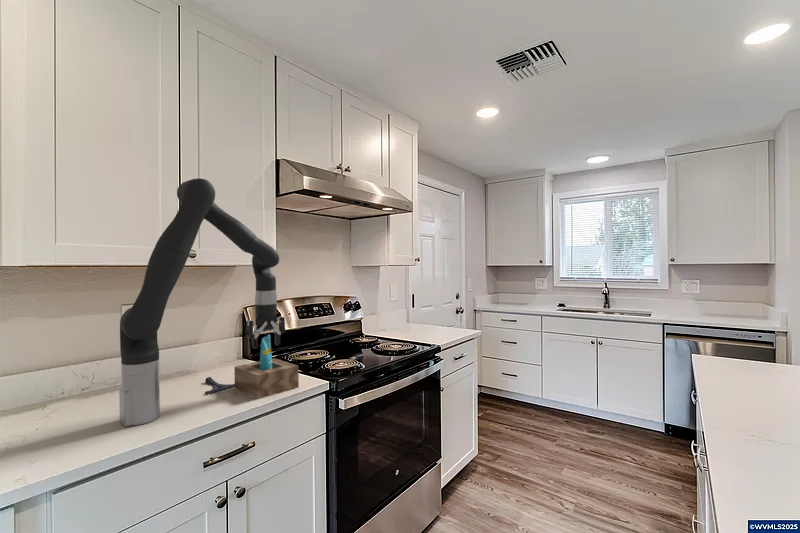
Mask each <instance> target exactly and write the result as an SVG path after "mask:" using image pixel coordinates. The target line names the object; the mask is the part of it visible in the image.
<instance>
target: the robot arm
mask: <svg viewBox="0 0 800 533" xmlns="http://www.w3.org/2000/svg"><path fill="white" fill-rule="evenodd" d="M176 196H177V199H178V201H179V202H180V205H179V208H178V210H177V212H176V214H175V216H174V218H173V219H172V221H171V222H170V223H169V224H168V225H167V227H166V228H165V229H164V231H163V232H162V233H161V234H160V236H159V237H158V239H157V241H156V243H155V245H154V248H153V250H152V252H151V255H150V256H149V259H148V262H147V264H146V270H145V273H144V274H145V275H144V278H143V283H142V287H141V289H140V292H139V294H138V295H137V297H136V299H135V301H134V303H133V304H132V307H129V308H128V309H127V310H125V311H124V312H123V314H122V315H121V316H120V320H119V347H120V348H119V349H120V363H121V364H120V365H121V374H120V376H121V388H119V422H120V423H121V424H122V425H123V426H124V427H130V426H138V425H139V426H140V425H144V424H148V423H151V422H153V421H155V420H158V419H159V418H160V416H161V415H160V414H161V413H160V412H161V407H160V406H161V405H160V401H161V400H160V396H161V395H160V349H159V342H158V330H160V327H161V324H162V321H163V316H164V313H165V310H166V307H167V303H168V301H169V298H170V295H171V293H172V292H173V290H174V288H175V286H176V284H177V282H178V280H179V277H180V276H181V274H182V272H183V270H184V268H185V265H186V263H187V260H188V259H189V256H190V253H191V251H192V248H193V246H194V243H195V241H196V238H197V236H198V233H199V230H200V227H201V224H202V223H203V221H204V220H206V222H208V223H209V224H211V226H213V227H215V228H216V229H217V230H218V231H219V232H221V233H222V234H223V235H224V236H225V237H227V239H229V240H230V241H231V242H232V243H233V244H234V245H235V246H237V247H238V248H239V249H240V250H241V251H243V252H244V253H246V254H250V255H252V257H251V265H252V270H253V274H254V277H255V296H254V297H255V298H254V309H255V310H254V312H255V314H254V316H255V319H253V320H251V319H250V320H249V319H248V320H247V321H246V327H245V328H246V329H245V330H246V331H245V337H247V338H250V339H251V347H252V348H253V349H254V350H257V349H259V348H258V343H259V340H258V337H259V335H260V334H262V332H265V331H272V332H273V333H274V335H273V336H274V342H273V343H274V346H280V343H281V335H282V334H283V333H285V332H286V321H285V320H286V319H285V316H284V317H283V316H278V317H277V314H278V310H277V309H278V299H277V298H278V295H277V279H276V276H275V275H274V274H273V273H272V271H271V268H275V267H276V266H277V265H278V264H279V263H280V255H279V252H278V251H277V250H276V249H275V248H274V247H273V246H271V245H269V243H267V242H265V241H264V240H262V239H260V238H259V237H258V236H257V235H256V234H255V233H254V232H253V231H252V230H251V229H250V228H248V227H247V226H246V225H245V224H244V223H243V222H241V221H240V220H238V219H237V218H235V217H233V216H232V215H230V214H229V213H227V212H226V211H225V210H223V209H222V208H221V207H220V206H219V205H217V204H216V202H215V200H216V190H215V187H214V185H213V184H212V183H211V182H210V181H209V180H208V179H205V178H199V177H198V178H192V179H189V180H186V181H183V182H182V183H181V184H179V185H178V187H177V190H176ZM277 323H278V326H277Z"/></svg>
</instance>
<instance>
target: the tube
mask: <svg viewBox="0 0 800 533" xmlns="http://www.w3.org/2000/svg"><path fill="white" fill-rule="evenodd" d="M271 341H272V340H271V335H270V333H269V334H267V335H266V336H264V337H262V338H261V342H260V354H259V355H260V356H259V361H260V370H262V371H265V370H269V369H272V359H273V357H272V356H273V355H272V342H271Z"/></svg>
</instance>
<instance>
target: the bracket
mask: <svg viewBox="0 0 800 533" xmlns="http://www.w3.org/2000/svg"><path fill="white" fill-rule="evenodd" d="M205 383H206V384H208V383H209V384H208V385H210V384H211V385H210V386H212V389H209V390H207V391H204V395H206V396H209V395H212V393H213V394H216V392H217V393H220V392H223V391H226V390H227V389H228V390H230V389H235V388H234V387H235V383H232V384H225V383H223V384H222V383H218V382H217V381H215V380H214V379H213V378H212V377H210V376H208V377H206V378H205ZM208 394H209V395H208Z"/></svg>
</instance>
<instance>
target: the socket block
mask: <svg viewBox="0 0 800 533" xmlns="http://www.w3.org/2000/svg"><path fill="white" fill-rule="evenodd" d="M299 375H300V374H299V365H298V364H294V363H291V362H288V361H284V360H281V359H278V358H273V357H272V369H269V370H265V371H262V370H260V360H259V361H256V362H249V363H245V364H244V363H243V364H241V365H235V366H234V384H235V388H234V389H236V390H237V391H240V392H242V393H244V394H246V395H248V396H250V395H251V396H250V397H252V396H253V397H252V398H255V399H257V400H258V399H262V397H263V398H266V397H269V396H273V395H275V394H276V393H277V394H280V393H283V392H286V391H290V390H294V389H297V388H299V386H300V385H299V382H300V381H299Z"/></svg>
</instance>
